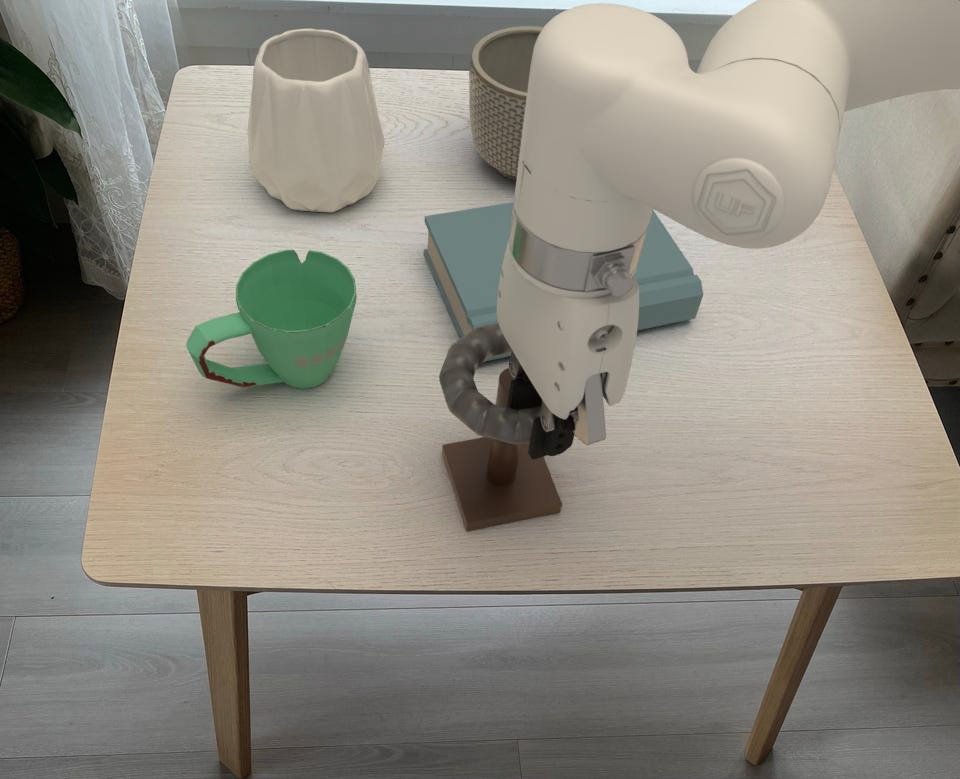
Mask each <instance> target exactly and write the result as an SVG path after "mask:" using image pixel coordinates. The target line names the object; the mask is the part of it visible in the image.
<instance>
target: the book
mask: <svg viewBox="0 0 960 779" xmlns="http://www.w3.org/2000/svg"><path fill="white" fill-rule="evenodd" d="M513 204H514V201H511V202H506V203H499V204H493V205H486V206H480V207H474V208H468V209H462V210H456V211H448V212H442V213H436V214H430V215H425V216H424V224H425V226H426V228H427V230H428V232H427V248H425V249H423V257H424V259H425V262H426V264H427V266H428V268H429V271H430V273H431V275H432V278H433V280H434V283H435V285H436V287H437V290H438V292H439V294H440V296H441V299H442V301H443V304H444V306H445V308H446V311H447V313H448V315H449V318H450V320H451V322H452V325H453V328H454V329H455V333H456V334H457V336H458V340H459V339H461V338H462V337H464V336H465V335H466V334H468V333H469V332H471V331H472V330H474V329H475V328H477V327H479V326H482V325H488V324H495V323H498V320H497V297H498V288H499V281H500V275H501V270H502V265H503V260H504V255H505V251H506V247H507V244H508V240H509V236H510V228H511V220H512V212H513ZM634 276H635V278H636V280H637V282H638V284H639V317H638V327H637V331H641V330H645V329H646V330H647V329H652V328H655V327H661V326H665V325H670V324H676V323H680V322H685V321H690V320H695V319H696V318H697V315H698V311H699V310H700V306H701V303H702V300H703V298H704V289H703V283H702V280H701V279H700V277H699V275H698V274H694V268H693V266H692V265H691V263H690V262H689V260H688V259H687V258H686V255H684V254H683V251H682V250H681V249H680V247H679V246H678V244H677V243H676V241H675V240H674V238H673V237H672V236H671V234H670V232H669V231H668V230H667V228H666V227H665V224H663V222H662V221H661V219H660V217H659V216H658V214H657V213H656V211H655V210H654V209H653V210H652V214H651V218H650V221H649V224H648V228H647V232H646V236H645V240H644V243H643V247H642V251H641V255H640V258H639V262H638V265H637V269H636V272H635V274H634ZM510 356H511V353H509V354H503V355H496V356H491V357H490V358H488V359H487V360H485V361H484V362H487V361H493V360H498V359H503V358H508V357H510Z"/></svg>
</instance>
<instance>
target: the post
mask: <svg viewBox="0 0 960 779" xmlns="http://www.w3.org/2000/svg"><path fill="white" fill-rule="evenodd" d="M514 379H516V378H513V376H512V375H511V373H510V370H509V367H507V368H505V369H504V370H502V371H501V372H500V374H499V376H498V384H497V392H496V397H495V399H496V400H495V404H496V405H500V406H504V407H507V403H508V397H509V390H510V383H511V380H514ZM529 444H530V443H526V444H521V445H515V444H510V443H506V442H502V441H498V440H494V439H490V438H486V437H482V436H481V437H477V438H471V439H465V440H461V441H456V442H451V443H450V442H449V443H445V444H442V446H441V455H442V458H443V460H444V464H445V467H446V471H447V473H448V477H449V480H450V483H451V487H452V490H453V493H454V496H455V500H456V502H457V506H458V508H459V513H460V515H461V519H462V522H463V525H464V529H465V531H466V532H470V531H471V532H472V531H475V530H480V529H485V528H490V527H495V526H500V525H505V524H509V523H514V522H519V521H524V520H529V519H533V518H538V517H544V516H548V515H553V514H559V513H561V511H562V507H563V503H562V500H561V497H560V495H559V493H558V489H557V487H556V485H555V482H554V480H553V477H552V474H551V472H550V468H549V466H548V464H547V462H546V459H545V456H544V457H541V458H538V459H531V457H530V455H529V454H528V450H529Z"/></svg>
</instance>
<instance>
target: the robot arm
mask: <svg viewBox="0 0 960 779" xmlns="http://www.w3.org/2000/svg"><path fill="white" fill-rule="evenodd" d="M543 27H544V28H543V29H542V31H541V33H540V34H539V36H538V38H537V40H536V43H535V46H534V50H533V55H532V61H531V67H530V75H529V83H528V91H527V99H526V107H525V115H524V123H523V131H522V139H521V147H520V155H519V164H518V172H517V180H516V181H515V190H514V198H513V202H514V204H513V212H512V220H511V228H510V236H509V240H508V244H507V247H506V251H505V255H504V260H503V265H502V270H501V275H500V281H499V288H498V297H497V320H498V323H499V326H500V329H501V331H502V333H503V335H504V337H505V338H506V340H507V342H508V344H509V345H510V347H511V349H512V352H511V356H509V360H508V368H509V370H510V373H511V375H512V376H513V378H516V379H514V380H511V383H510V390H509V397H508V403H507V407H508V408H512V409H516V410H521V409H527V408H533V407H539V406H542V407H541V416H540V417H537V418H536V419H535V420H534V422H533V428H532V433H531V438H530V444H529V450H528V454H529V455H530V457H531V459H538V458H541V457H544V458H545V457H556V456H559V455H561V454H564V453H565V452H566V451H567V450H568V449H569V448H572V446H573V442H574V440H575V437H576V439H578V440H579V441H580V442H582V443H583V444H584V445H585V446H590V445H593V444H596V443H599V442H602V441H605V440H606V438H607V430H606V429H607V428H606V419H605V418H606V417H605V416H606V415H605V405H604V404H605V402H604V400H605V401H606V403H607V405H608V406H609V407H611V406H615V405H617V404H619V403H621V401H622V399H623V397H624V395H625V392H626V389H627V386H628V382H629V377H630V373H631V368H632V364H633V359H634V353H635V348H636V342H637V336H638V335H637V334H638V330H637V327H638V317H639V284H638V282H637V280H636V278H635V276H634V274H635V272H636V269H637V265H638V262H639V258H640V255H641V251H642V247H643V243H644V240H645V236H646V232H647V228H648V224H649V221H650V218H651V214H652V210H654V211H655V212H657V213H659V214H661V215H663V216H665V217H667V218H668V219H671V220H672V221H674V222H676V223H678V224H679V225H681V226H683V227H685V228H687V229H689V230H691V231H693V232H695V233H697V234H699V235H701V236H704V237H705V238H708V239H709V240H712V241H715V242H719V243H721V244H724V245H727V246H731V247H737V248H741V249H750V250H761V249H768V248H770V249H771V248H774V247H778V246H781V245H784V244H786V243H788V242H790V241H792V240H794V239H796V238H797V237H799V236H800V235H802V234H803V233H805V231H806V230H808V228H809V227H810V226H811V225H812V224H813V223H814V222H815V220H816V219H817V217H818V216H819V214H820V213H821V211H822V209H823V207H824V205H825V203H826V200H827V197H828V194H829V191H830V188H831V182H832V177H833V172H834V167H835V162H836V157H837V150H838V146H839V140H840V136H841V130H842V125H843V120H844V116H845V112H849V111H851V110H852V111H853V110H855V109H859V108H863V107H866V106H870V105H874V104H877V103H881V102H884V101H888V100H893V99H897V98H900V97H905V96H910V95H915V94H920V93H926V92H933V91H940V90H941V91H942V90H960V0H755V1H753V2H751V3H750V4H749V5H747V6H745V7H744V8H743V9H741V10H740V11H738V12H737V13H735V14H734V15H732V16H731V17H730V18H729V19H728V20H727V21H726V22H725V23H724V24H723V25H722V26H721V27H720V28H719V29H718V31H717V32H716V33H715V35H714V36H713V37H712V38H711V40H710V42H709V44H708V45H707V48H706V50H705V52H704V54H703V56H702V59H701V61H700V62H699V65H698V68H697V71H696V72H695V71H694V70H692V69H691V67H690V64H689V57H688V52H687V49H686V46H685V43H684V42H683V40H682V38H681V36H680V35H679V34H678V33H677V32H676V30H674V28H672V27H671V26H670V25H669V24H668V23H667V22H665V21H664V20H663V19H661V18H659V17H658V16H656V15H654V14H653V13H650V12H648V11H645V10H642V9H639V8H636V7H632V6H628V5H623V4H616V3H606V2H605V3H603V2H600V3H587V4H582V5H581V4H580V5H578V6H574V7H571V8H568V9H566V10H563V11H561V12H560V13H558V14H556V15H555V16H553V17H552V18H551V19H550V20H549V21H548V22H547V23H546V24H545V25H544V26H543Z"/></svg>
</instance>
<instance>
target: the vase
mask: <svg viewBox="0 0 960 779" xmlns="http://www.w3.org/2000/svg"><path fill="white" fill-rule="evenodd" d="M372 80H373V79H372V76H371V69H370V65H369V61H368V57H367V55H366V53H365V51H364V49H363V48H362V47H361V46H360V45H359V44H358V42H356V41H354V40H352V39H350V38H349V37H348V36H347V35H344V34H342V33H340V32H337V31H334V30H330V29H320V28H319V29H315V28H296V29H291V30H290V29H289V30H286V31H284V32H282V33H281V34H276V35H274V36H272V37H271V36H270V38H267V39H266V40H264V42H263V43H262V44H261V46H260V47H259V49H258V53H257V54H256V57H255V61H254V65H253V72H252V85H251V94H250V95H251V96H250V104H249V112H248V121H247V142H248V143H247V144H248V158H249V169H250V172H251V173H252V174H253V176H254V178H255V179H256V180H257V181H258V182H259V184H260V185H261V186H262V187H263V188H264V189H266V191H267V193H268V195H270V196H271V197H273V199H276V200H278V201H282V203H283V204H284V205H285V206H286V207H287V208H289V209H290V210H293V211H301V212H313V213H314V212H316V213H336V212H337V211H340V210H342V209H344V208H345V207H346V208H347V207H348V206H350V205H352V204H355V203H357V201H359V200H361V199H363V198H365V197H367V196H368V195H369V194H371V192H372V191H373V189H374V188H375V186H376V184H377V183H378V180H379V176H380V167H381V160H382V156H383V152H384V147H385V143H386V142H385V136H384V133H383V129H382V124H381V120H380V116H379V111H378V107H377V101H376V96H375V90H374V86H373V85H374V84H373V81H372Z"/></svg>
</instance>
